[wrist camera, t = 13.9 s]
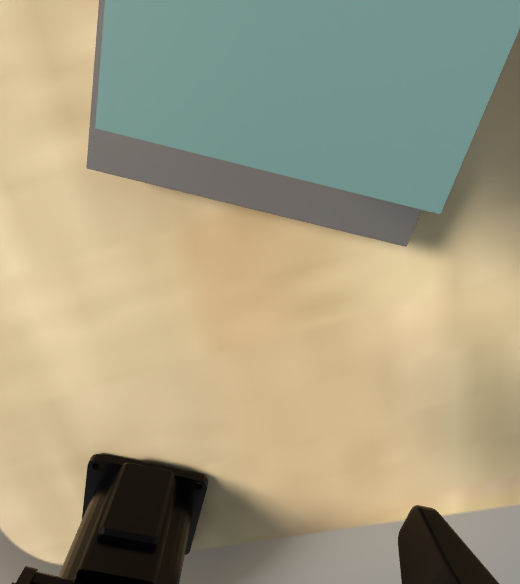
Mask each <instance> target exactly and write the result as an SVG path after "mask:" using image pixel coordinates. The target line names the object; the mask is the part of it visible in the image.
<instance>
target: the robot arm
mask: <svg viewBox="0 0 520 584" xmlns="http://www.w3.org/2000/svg"><path fill="white" fill-rule="evenodd" d="M97 463H98V464H97ZM197 483H199V484H197ZM207 484H208V479H207V478H206V477H205V476H204V475H201V474H196V473H191V472H186V471H181V470H176V469H171V468H166V467H161V466H156V465H151V464H146V463H141V462H136V461H131V460H126V459H121V458H116V457H111V456H106V455H101V454H96V455H93V456H92V457H91V459H90V461H89V463H88V468H87V477H86V487H85V496H84V505H83V515H82V522H81V524H80V526H79V529H78V531H77V533H76V536H75V538H74V540H73V543H72V545H71V548H70V550H69V552H68V555H67V557H66V559H65V562H64V564H63V566H62V569H61V571H60V574H59V576H54V575H50V574H45V573H41V572H38V571H37V570H38V569H36V568H31V567H28V566H25V568H24V570H23V571H22V573H21V575H20V577H19V578H18V580H17V582H16V583H12V584H179V582H180V576H181V571H182V566H183V560H184V555H186V554H188V553H189V552H190V548H191V545H192V541H193V537H194V534H195V530H196V526H197V523H198V519H199V515H200V512H201V508H202V504H203V501H204V497H205V493H206V490H207ZM398 547H399V558H400V568H401V579H402V584H499V583H498V582H497V581H496V579H495V578H494V577H493V576H492V575H491V574H490V572H489V571H488V570H487V569H486V568H485V567H484V565H483V564H482V563H481V562H480V561H479V560H478V558H477V557H476V556H475V555H474V554H473V553H472V551H471V550H470V549H469V548H468V547H467V545H466V544H465V543H464V542H463V541H462V540H461V538H460V537H459V536H458V535H457V534H456V533H455V532H454V530H453V529H452V528H451V527H450V526H449V524H448V523H447V522H446V521H445V520H444V518H443V517H442V516H441V515H440V514H439V513H438V512H437V511H436V510H435V509H433V508H429V507H424V506H419V505H416V506H414V507H413V508H412V509H411V511H410V513H409V514H408V516H407V518H406V520H405V522H404V524H403V526H402V527H401V529H400V531H399V536H398Z"/></svg>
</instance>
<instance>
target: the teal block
mask: <svg viewBox="0 0 520 584" xmlns="http://www.w3.org/2000/svg"><path fill="white" fill-rule="evenodd" d="M519 29H520V0H105V7H104V20H103V33H102V46H101V59H100V72H99V85H98V98H97V111H96V124H95V128H96V129H100V130H104V131H108V132H112V133H116V134H120V135H124V136H128V137H132V138H136V139H140V140H144V141H148V142H152V143H156V144H160V145H164V146H168V147H172V148H176V149H180V150H184V151H188V152H192V153H196V154H200V155H204V156H208V157H212V158H216V159H220V160H224V161H228V162H232V163H236V164H240V165H244V166H248V167H252V168H256V169H260V170H264V171H268V172H272V173H276V174H280V175H284V176H288V177H292V178H296V179H300V180H304V181H308V182H312V183H316V184H321V185H325V186H329V187H333V188H337V189H341V190H345V191H349V192H353V193H357V194H361V195H365V196H369V197H373V198H377V199H381V200H385V201H389V202H393V203H397V204H401V205H405V206H409V207H413V208H417V209H421V210H425V211H429V212H433V213H437V214H441V212H442V210H443V207H444V205H445V203H446V200H447V198H448V196H449V193H450V191H451V188H452V186H453V184H454V181H455V179H456V177H457V174H458V172H459V170H460V167H461V165H462V163H463V160H464V158H465V156H466V153H467V151H468V149H469V146H470V144H471V142H472V139H473V137H474V135H475V132H476V130H477V128H478V125H479V123H480V121H481V118H482V116H483V114H484V111H485V109H486V107H487V104H488V102H489V99H490V97H491V95H492V92H493V90H494V88H495V85H496V83H497V81H498V78H499V76H500V74H501V71H502V69H503V67H504V64H505V62H506V60H507V57H508V55H509V53H510V50H511V48H512V46H513V43H514V41H515V39H516V36H517V34H518V32H519Z"/></svg>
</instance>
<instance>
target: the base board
mask: <svg viewBox="0 0 520 584" xmlns="http://www.w3.org/2000/svg"><path fill="white" fill-rule="evenodd" d="M104 7H105V0H99V9H98V22H97V36H96V49H95V62H94V76H93V89H92V102H91V116H90V129H89V143H88V156H87V169H92V170H96V171H100V172H104V173H108V174H112V175H116V176H120V177H124V178H128V179H132V180H136V181H140V182H145V183H149V184H153V185H157V186H161V187H165V188H169V189H173V190H177V191H181V192H185V193H189V194H193V195H197V196H202V197H206V198H210V199H214V200H218V201H222V202H226V203H230V204H234V205H238V206H242V207H246V208H250V209H255V210H259V211H263V212H267V213H271V214H275V215H279V216H283V217H287V218H291V219H295V220H299V221H303V222H307V223H312V224H316V225H320V226H324V227H328V228H332V229H336V230H340V231H344V232H348V233H352V234H356V235H360V236H365V237H369V238H373V239H377V240H381V241H385V242H389V243H393V244H397V245H401V246H405V247H407V245H408V242H409V240H410V237H411V235H412V233H413V230H414V228H415V225H416V223H417V220H418V218H419V215H420V213H421V211H422V210H421V209H417V208H413V207H409V206H405V205H401V204H397V203H393V202H389V201H385V200H381V199H377V198H373V197H369V196H365V195H361V194H357V193H353V192H349V191H345V190H341V189H337V188H333V187H329V186H325V185H321V184H316V183H312V182H308V181H304V180H300V179H296V178H292V177H288V176H284V175H280V174H276V173H272V172H268V171H264V170H260V169H256V168H252V167H248V166H244V165H240V164H236V163H232V162H228V161H224V160H220V159H216V158H212V157H208V156H204V155H200V154H196V153H192V152H188V151H184V150H180V149H176V148H172V147H168V146H164V145H160V144H156V143H152V142H148V141H144V140H140V139H136V138H132V137H128V136H124V135H120V134H116V133H112V132H108V131H104V130H100V129H96V128H95V124H96V111H97V98H98V85H99V72H100V59H101V46H102V33H103V20H104Z"/></svg>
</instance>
